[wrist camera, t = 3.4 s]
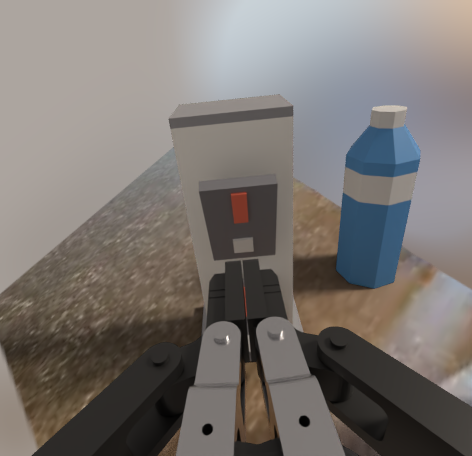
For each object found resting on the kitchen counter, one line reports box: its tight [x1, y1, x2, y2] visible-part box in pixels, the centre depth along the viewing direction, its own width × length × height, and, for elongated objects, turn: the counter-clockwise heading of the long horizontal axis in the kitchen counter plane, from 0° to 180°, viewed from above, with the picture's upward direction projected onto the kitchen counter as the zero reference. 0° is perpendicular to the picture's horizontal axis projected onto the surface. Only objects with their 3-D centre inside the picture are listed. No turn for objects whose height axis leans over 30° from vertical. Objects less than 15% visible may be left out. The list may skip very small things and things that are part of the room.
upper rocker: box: [199, 174, 278, 261], centre depth 27 cm, size 2×6×9 cm, turn 92°
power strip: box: [169, 94, 303, 361], centre depth 35 cm, size 10×13×29 cm
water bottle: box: [336, 106, 420, 289], centre depth 44 cm, size 9×9×25 cm
